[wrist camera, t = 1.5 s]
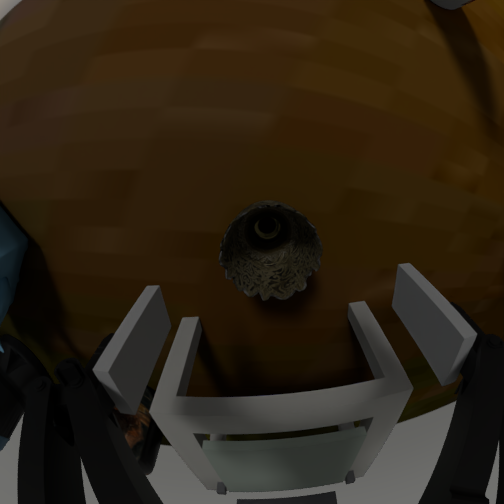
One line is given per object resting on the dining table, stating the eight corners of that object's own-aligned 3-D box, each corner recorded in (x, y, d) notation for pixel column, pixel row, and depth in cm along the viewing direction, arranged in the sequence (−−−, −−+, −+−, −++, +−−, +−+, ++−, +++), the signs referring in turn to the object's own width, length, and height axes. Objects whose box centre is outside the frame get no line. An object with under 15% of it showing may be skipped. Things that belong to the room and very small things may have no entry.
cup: (254, 173, 25) (254, 185, 18) (318, 213, 26) (342, 240, 19) (215, 237, 27) (201, 272, 20) (277, 271, 29) (284, 316, 21)
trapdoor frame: (216, 417, 39) (206, 498, 25) (182, 317, 31) (144, 426, 17) (345, 406, 38) (365, 485, 24) (364, 300, 30) (420, 401, 16)
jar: (183, 415, 39) (168, 489, 26) (137, 421, 42) (117, 484, 28) (138, 372, 36) (105, 453, 22) (95, 383, 38) (62, 448, 24)
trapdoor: (331, 494, 28) (333, 511, 24) (241, 502, 28) (240, 519, 25) (364, 425, 19) (373, 457, 15) (203, 440, 19) (198, 473, 16)
